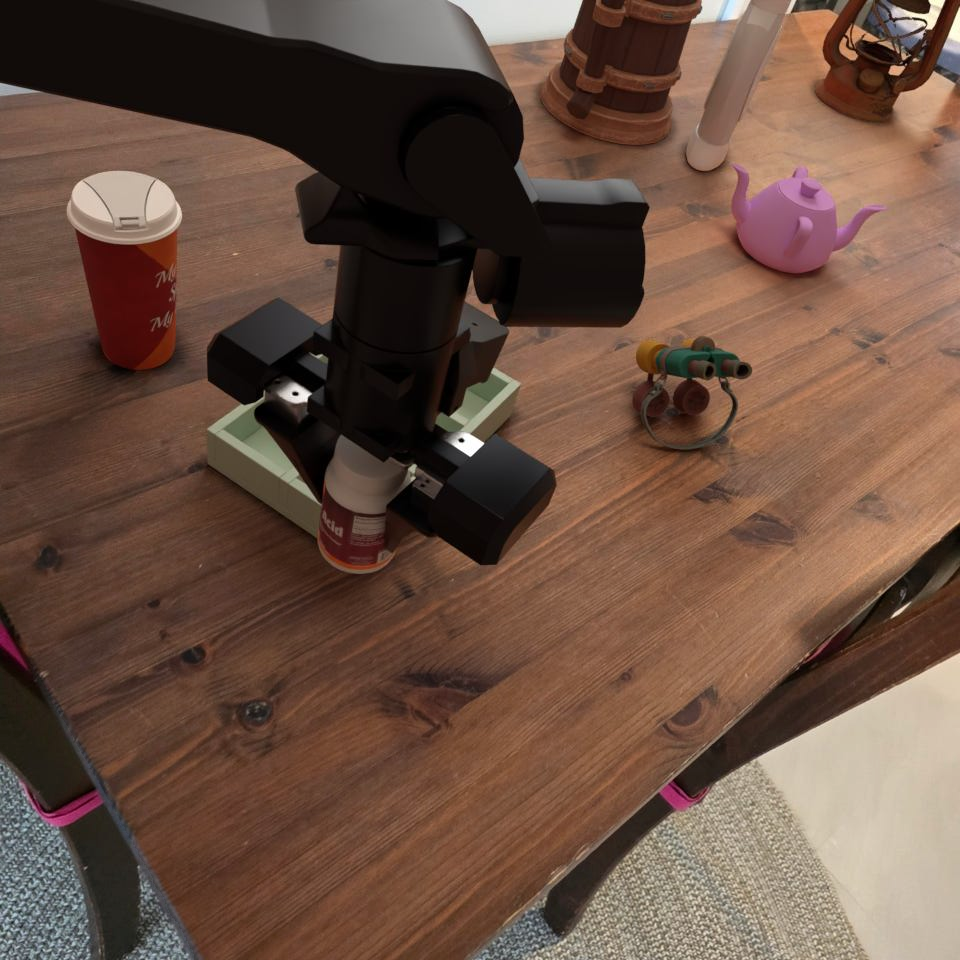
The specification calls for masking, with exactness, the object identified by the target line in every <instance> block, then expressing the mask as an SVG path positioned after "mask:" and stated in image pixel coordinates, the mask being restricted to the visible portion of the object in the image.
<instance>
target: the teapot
mask: <svg viewBox="0 0 960 960" xmlns="http://www.w3.org/2000/svg"><path fill="white" fill-rule="evenodd" d="M731 167H733V169H734V171H735V173H736V174H737V183H736V187H735V189H734V191H733V194H732V198H731V204H730V209H731V214H732V216H733V218H734V220H735V221H736V224H735V228H736V234H737V237H738V239H739V242H740V245H741V246H742V249H743V250H744V251H745V252H746V253H747V254H748V255H749V256H750V257H751V258H753V259H754V260H755V261H757V262H759V263H760V264H762V265H764V266H765V267H768V268H770V269H774V270H775V271H779V272H783V273H788V274H804V273H808V272H810V271H814V270H816V269H818V268H820V267H822V266H824V265H825V264H826V263H827V262H828V261H829V259H830V257H831V255H832V253H834V252H838V251H841V250H842V249H844V248H846V247H847V246H849V245H850V244H851V242H853V240H855V237H856V236H857V235H858V233H859V231H860V230H861V228H862V226H863V225H864V224H865V222H866V221H867V220H868V219H869V218H870V217H871V216H873V215H874V214H877V213H880V212H882V211H885V210H887V209H888V207H887V206H886V205H885V206H884V205H882V204H881V205H879V204H870V205H866V206H864V207H862V208H861V209H860V210H859V211H858V212H857V213H856V214H855V215H854V216H853V218H852V219H851V220H850V221H849V222H848V223H847V224H845V225H842V226H840V227H838V218H837V208H836V207H837V206H836V202H835V200H834V198H833V196H832V195H831V194H830V193H829V192H828V190H826V189H824V188H823V185H822V183H820V182H819V181H818V180H816V179H815V178H812V177H809V171H808V168H807V167H806V166H802V165H800V166H797V167H796V168H795V170H794V172H793V173H792V175H791V177H784V178H782V179H780V180H777V181H775V182H773V183H772V184H770V185H768V186H767V187H765V188H764V189H762V190H761V191H760V192H759V193H757V194H756V195H755V196H753V197H752V198H751V199H750V200H748V198H747V192H748V188H749V185H750V184H749V183H750V175H749V172H748V171H747V169H745V168H744V167H743V166H741V165H739V164H738V163H735V162H731Z"/></svg>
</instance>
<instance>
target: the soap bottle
mask: <svg viewBox="0 0 960 960" xmlns="http://www.w3.org/2000/svg"><path fill="white" fill-rule="evenodd" d="M791 3H792V0H749V3H748V4H747V7H746V9H745V10H743V12H742V13H741V14H740V15H739V17H738V19H737V21H736V23H735V26H734V28H733V31H732V33H731V36H730V38H729V41H728V43H727V46H726V48H725V51H724V53H723V56H722V58H721V60H720V63H719V65H718V68H717V70H716V73H715V75H714V78H713V80H712V82H711V85H710V87H709V89H708V92H707V95H706V97H705V101H704V105H703V114H702V116H701V118H700V122H699V123H698V124H697V125H696V126H695V128H694V131H693V132H692V134H691V136H690V138H689V140H688V143H687V144H686V149H685V150H686V151H685V156H686V159H687V163H688V164H689V165H690V166H691V167H692V169H695V170H696V171H700V172H709V171H712V170H714V169H716V168H718V167H720V165H721V164H722V163H723V162H724V161H725V159H726V157H727V155H728V151H729V150H730V149H729V148H730V146H731V142H732V140H733V139H732V138H733V134H734V132H735V129H736V128H737V125H738V123H740V122H741V121H742V120H743V118H744V116H745V115H746V112H747V111H748V108H749V106H750V104H751V102H752V100H753V97H754V96H755V93H756V91H757V89H758V86H759V83H760V82H761V79H762V77H763V75H764V73H765V70H766V67H767V66H768V63H769V61H770V59H771V57H772V54H773V52H774V50H775V48H776V46H777V44H778V42H779V39H780V37H781V34H782V30H783V24H782V23H783V21H784V19H785V15H786V13H787V11H788V9H789V7H790V5H791Z"/></svg>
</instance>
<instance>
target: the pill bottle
mask: <svg viewBox="0 0 960 960" xmlns="http://www.w3.org/2000/svg"><path fill="white" fill-rule="evenodd" d="M410 483H411V477H410V473H409V470H408V469H407V470H403V469H401V468H400V467H398V466H397V465H395V464H393V463H392V462H390V461H389V460H386V461H385V462H384V463H383V462H382V461H380V460H379V459H377V458H376V457H374V456H373V455H371V454H370V453H368V452H367V451H365V450H364V449H362V448H361V447H359V446H358V445H356V444H355V443H353V442H352V441H350V440H349V439H347V438H346V437H344V436H343V435H340V437H339V438H338V440H337V443H336V447H335V453H334V457H333V459H332V460H331V461H330V463H329V464H328V466H327V469H326V473H325V479H324V488H323V495H322V503H321V512H320V520H319V530H318V539H317V545H318V549H319V552H320V554H321V555H322V557H323V559H324V560H325V561H326V562H328V564H330V566H332V567H334V568H335V569H337V570H338V571H339V570H340V571H342V572H344V573H349V574H357V575H363V574H370V573H374V572H377V571H379V570H381V569H383V568H384V567H386V566H387V565H388V564H389V563H390V562H391V561H392V560H393V558H394V556H395V554H396V552H397V549H396V550H395V551H394V552H393V553H391V552H389V551H388V550H387V548H386V544H385V515H386V505H387V504H388V503H389V502H390V501H391V500H392V499H393V498H395V497H396V496H397V495H398V494H399V493H400V492H401V491H402V490H403V489H404V488H405V487H406V486H407V485H409V484H410Z"/></svg>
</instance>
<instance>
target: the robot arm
mask: <svg viewBox="0 0 960 960" xmlns="http://www.w3.org/2000/svg"><path fill="white" fill-rule="evenodd" d="M0 84H4V85H8V86H12V87H17V88H22V89H26V90H29V91H30V90H31V91H36V92H40V93H45V94H49V95H54V96H59V97H63V98H68V99H73V100H77V101H82V102H87V103H91V104H96V105H101V106H106V107H110V108H115V109H119V110H124V111H128V112H132V113H133V112H134V113H138V114H143V115H146V116H152V117H157V118H161V119H165V120H170V121H175V122H180V123H184V124H187V125H188V124H189V125H193V126H198V127H202V128H203V127H204V128H207V129H211V130H217V131H222V132H226V133H231V134H235V135H241V136H243V137H250V138H252V139H255V140H258V141H260V142H263V143H266V144H269V145H271V146H273V147H276V148H279V149H281V150H284V151H286V152H287V153H289V154H291V155H292V156H294V157H295V158H297V159H298V160H299V161H301V162H303V163H304V164H306V165H307V166H309V167H310V168H312V169H313V170H315V171H316V172H314V173H312V174H310V175H309V176H307V177H306V178H304V179H301V180H300V181H299V182H298V183H297V184H296V185H295V188H294V192H295V196H296V202H297V207H298V213H299V219H300V224H301V228H302V235H303V238H304V240H305V242H306V243H308V244H310V245H314V246H315V245H317V246H321V245H322V246H339V252H338V263H337V272H336V282H335V292H334V299H333V300H334V301H333V310H332V318H331V319H329V320H328V321H326V322H324V323H323V324H322V323H321V322H319V321H317V320H316V319H314V318H313V317H311V316H310V315H308V314H306V313H305V312H304V311H302V310H300V309H299V308H297V307H295V306H294V305H292V304H290V303H289V302H288V301H285V300H284V299H283V298H281V297H279V296H278V297H276V298H274V299H271V300H270V301H267V302H266V303H264V304H262V305H261V306H259V307H258V308H255V309H254V310H252V311H251V312H249V313H247V314H246V315H244V316H242V317H240V318H239V319H237V320H236V321H234V322H232V323H231V324H230V325H228V326H226V327H224V328H222V329H221V330H219V331H218V332H216V333H214V335H213V337H212V338H211V340H210V342H209V343H208V344H207V347H206V369H207V370H206V371H207V372H206V373H207V382H209V383H210V384H211V385H213V386H214V387H216V388H217V389H219V390H220V391H221V392H223V393H225V394H226V395H227V396H229V397H231V398H232V399H234V400H235V401H237V402H238V403H240V405H241V404H243V405H248V404H252V403H255V402H257V401H258V400H260V399H261V398H263V397H264V391H265V397H264V402H263V403H262V404H260V405H259V406H257V407H256V408H255V410H254V418H255V420H256V422H257V423H259V424H260V425H261V426H263V427H264V428H265V429H266V430H267V431H268V433H269V434H270V435H271V437H272V438H273V439H274V441H275V442H276V443H277V445H278V446H279V447H280V449H281V450H282V451H283V452H284V454H285V455H286V456H287V458H288V459H289V460H290V462H291V463H292V465H293V466H294V468H295V469H296V470H297V472H298V473H299V475H300V476H301V478H302V479H303V481H304V482H305V484H306V485H307V486H308V488H309V489H310V491H311V492H312V494H313V495H314V497H315V498H316V500H317V501H318V502H319V503H320V504H321V503H322V495H323V488H324V479H325V473H326V469H327V466H328V464H329V463H330V461H331V460H332V459H333V457H334V453H335V447H336V443H337V440H338V438H339V437H340V435H343V436H344V437H346V438H347V439H349V440H350V441H352V442H353V443H355V444H356V445H358V446H359V447H361V448H362V449H364V450H365V451H367V452H368V453H370V454H371V455H373V456H374V457H376V458H377V459H379V460H380V461H382V462H383V463H384V462H385V461H386V460H389V461H390V462H392V463H393V464H395V465H397V466H398V467H400V468H401V469H403V470H407V469H409V468H410V467H411V466H412V465H413V464H416V465H417V467H416V469H415V473H414V477H416V478H415V479H414V480H413V481H412V482H411V483H410V484H409V485H407V486H406V487H405V488H404V489H403V490H402V491H401V492H400V493H399V494H398V495H397V496H396V497H395V498H393V499H392V500H391V501H390V502H389V503H388V504H387V505H386V515H385V544H386V548H387V550H388V551H389V552H391V553H393V552H394V551H395V550H396V551H397V549H398V548H400V547H401V546H402V545H403V544H404V542H405V541H406V540H407V539H408V538H409V537H410V536H411V535H412V534H413V533H419V534H420V535H422V536H423V537H426V538H436V537H438V538H439V539H441V541H443V542H445V543H447V544H448V545H450V546H451V547H453V548H454V549H455V550H457V551H458V552H460V553H461V554H463V555H464V556H466V557H467V558H469V559H470V560H472V561H473V562H475V564H478V565H479V566H497V565H498V564H499V563H500V562H501V561H502V559H503V558H504V557H505V556H506V555H507V553H508V552H509V551H510V550H511V549H512V548H513V547H514V546H515V544H516V543H517V542H518V541H519V540H520V539H521V538H522V536H523V535H524V534H525V533H526V532H527V531H528V530H529V528H530V527H531V526H532V525H533V524H534V523H535V521H536V520H537V519H538V518H539V517H540V516H541V515H542V513H543V512H544V511H546V509H547V508H548V506H549V505H550V503H551V502H552V501H551V500H552V498H553V497H554V493H555V491H556V488H557V486H558V484H557V478H556V472H555V469H553V468H551V467H549V466H548V465H546V464H545V463H543V462H542V461H540V460H538V459H537V458H535V457H534V456H533V455H531V454H529V453H527V452H526V451H525V450H523V449H521V448H520V447H518V446H516V445H514V443H512V442H510V441H508V440H507V439H506V438H503V437H502V436H500V435H499V434H497V433H493V434H492V435H491V436H490V437H489V438H488V439H487V440H486V441H485V442H484V443H483V442H482V441H480V440H479V439H477V438H475V437H474V436H472V435H471V434H469V433H467V432H465V431H454V432H448V431H446V430H445V429H443V428H442V427H440V426H439V425H437V424H435V422H436V418H437V416H438V415H439V414H440V413H441V412H442V413H443V414H445V415H446V416H448V417H450V416H451V415H452V414H453V413H454V412H456V411H457V410H458V409H459V408H460V407H461V406H462V404H463V400H464V396H465V393H466V389H467V388H468V387H470V386H473V385H475V384H477V383H479V382H480V383H485V382H487V381H488V378H489V376H490V374H491V372H492V370H493V367H494V368H495V365H496V363H497V360H498V358H499V356H500V355H501V352H502V350H503V348H504V345H505V343H506V341H507V339H508V337H509V334H510V330H509V328H598V329H599V328H610V329H613V328H614V329H615V328H616V329H618V328H623V327H625V326H628V324H630V322H632V320H633V319H634V318H635V316H636V314H637V313H638V312H639V309H640V308H641V305H642V303H643V300H644V297H645V288H644V286H643V284H644V281H645V280H644V279H645V272H646V264H647V263H646V261H647V260H646V241H645V232H644V228H643V226H644V224H645V221H646V219H647V217H648V213H649V211H650V208H651V207H650V205H649V203H648V201H647V200H646V198H645V197H644V194H643V193H642V191H641V190H640V188H639V187H638V185H637V183H636V181H635V180H634V179H631V178H618V177H617V178H616V177H614V178H613V177H610V178H602V179H596V180H584V179H583V180H582V179H581V180H580V179H567V178H566V179H564V178H551V177H533V176H529V174H528V172H527V170H526V168H525V166H524V163H523V162H522V160H521V158H520V157H521V153H522V148H523V146H524V145H523V144H524V141H525V130H524V129H525V128H524V116H523V113H522V111H521V109H520V106H519V104H518V102H517V99H516V97H515V95H514V92H513V91H512V89H511V87H510V85H509V83H508V81H507V80H506V77H505V75H504V73H503V72H502V70H501V67H500V65H499V64H498V62H497V60H496V58H495V56H494V54H493V52H492V50H491V49H490V46H489V45H488V43H487V41H486V39H485V37H484V35H483V33H482V30H481V29H480V27H479V26H478V25H477V24H476V22H475V20H474V18H473V17H472V16H470V14H469V13H468V12H467V11H465V10H464V9H463V8H462V7H460V6H459V5H457V4H455V3H453V2H452V1H449V0H0ZM471 276H472V281H473V287H474V292H475V295H476V297H477V300H478V301H479V302H480V303H481V304H482V305H492V310H493V312H494V315H495V317H496V318H495V317H493V316H491V315H489V314H488V313H485V312H484V311H483V310H481V309H479V308H477V307H476V306H474V305H472V304H471V303H469V302H467V301H466V298H467V293H468V289H469V285H470V281H471ZM312 354H313V355H315V356H317V355H321V354H322V355H324V356H325V357H327V358H328V363H324V362H322V361H321V360H319V359H318V358H316V357H315V356H313V355H312Z"/></svg>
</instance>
